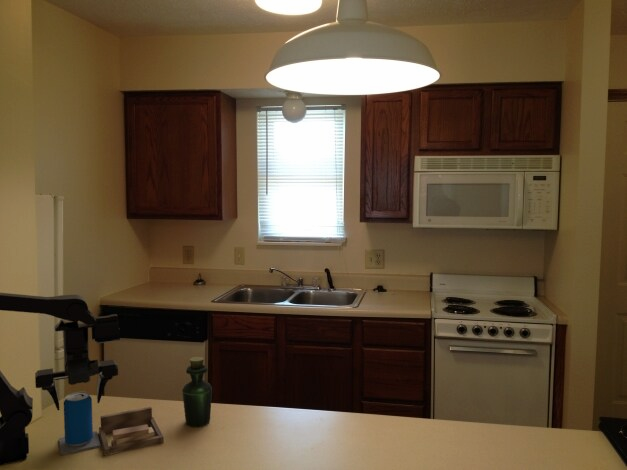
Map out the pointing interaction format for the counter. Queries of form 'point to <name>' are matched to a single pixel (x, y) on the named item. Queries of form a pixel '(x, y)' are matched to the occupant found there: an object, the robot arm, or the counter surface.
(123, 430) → the offcut stack
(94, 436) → the rubber mat
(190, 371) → the potion bottle
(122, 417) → the rack
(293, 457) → the counter surface
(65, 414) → the beverage can
